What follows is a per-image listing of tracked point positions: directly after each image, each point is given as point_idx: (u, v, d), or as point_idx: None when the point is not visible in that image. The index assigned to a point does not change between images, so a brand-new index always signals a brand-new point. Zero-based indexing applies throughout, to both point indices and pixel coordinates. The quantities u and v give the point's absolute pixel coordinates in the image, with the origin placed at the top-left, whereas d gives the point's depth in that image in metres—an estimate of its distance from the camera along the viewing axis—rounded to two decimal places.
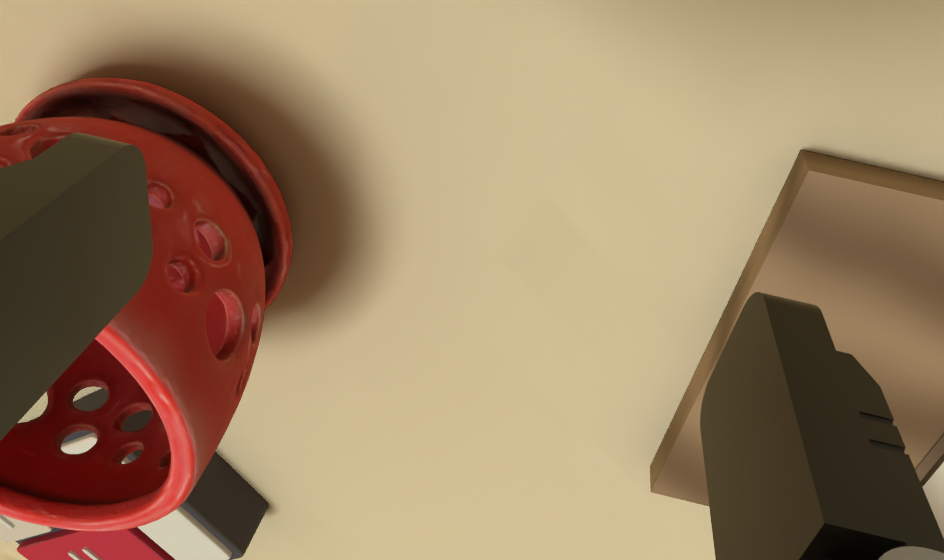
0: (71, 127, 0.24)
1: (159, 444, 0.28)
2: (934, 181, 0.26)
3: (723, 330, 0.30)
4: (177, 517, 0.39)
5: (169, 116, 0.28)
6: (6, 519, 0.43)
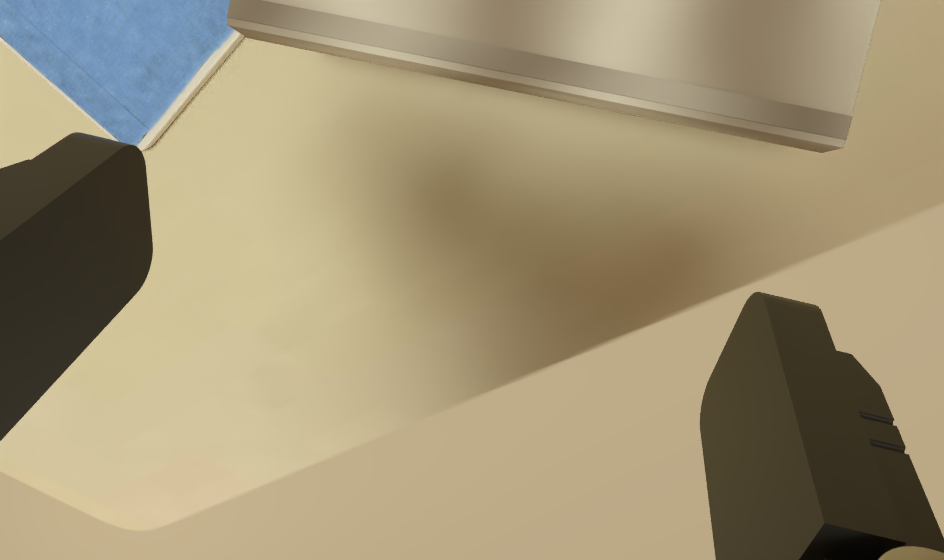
0: None
1: None
2: None
3: None
4: None
5: None
6: None
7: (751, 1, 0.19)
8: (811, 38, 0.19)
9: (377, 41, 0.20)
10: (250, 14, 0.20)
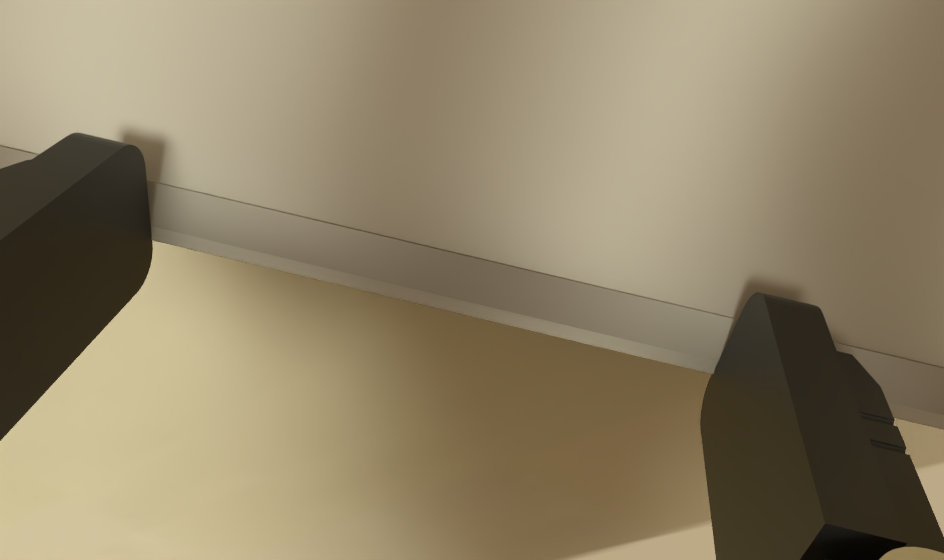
0: None
1: None
2: None
3: None
4: None
5: None
6: None
7: (891, 167, 0.10)
8: None
9: (154, 216, 0.10)
10: None
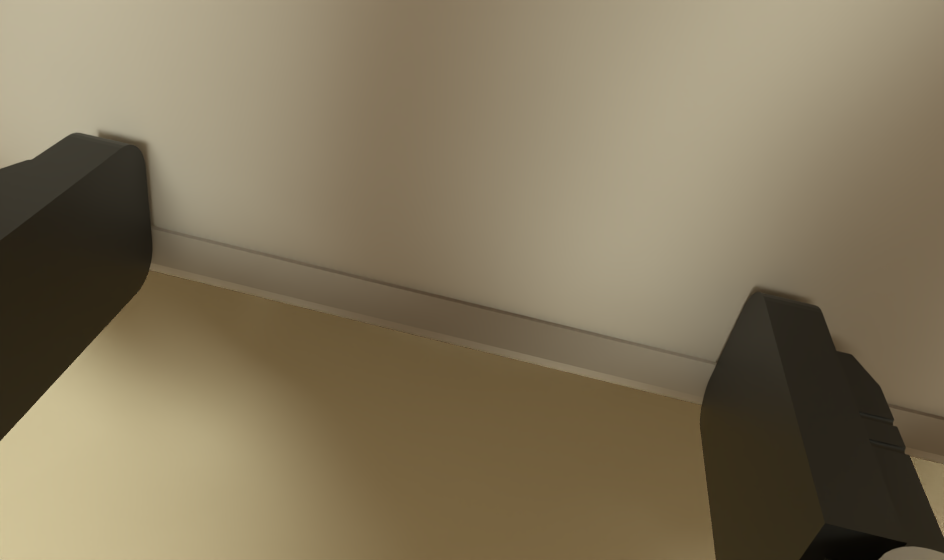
0: None
1: None
2: None
3: None
4: None
5: None
6: None
7: (908, 244, 0.09)
8: None
9: (157, 256, 0.11)
10: None
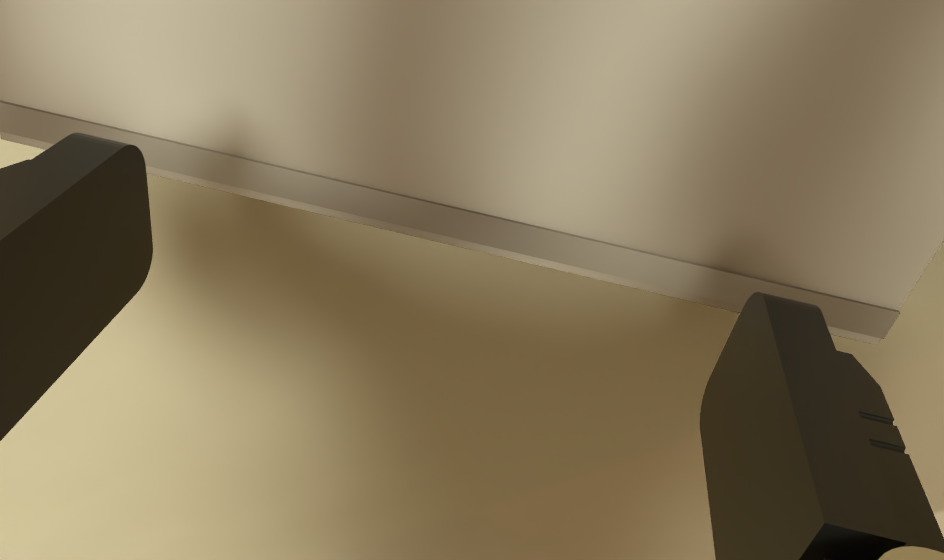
0: None
1: None
2: None
3: None
4: None
5: None
6: None
7: (778, 150, 0.12)
8: (864, 207, 0.12)
9: (215, 174, 0.14)
10: (29, 127, 0.14)
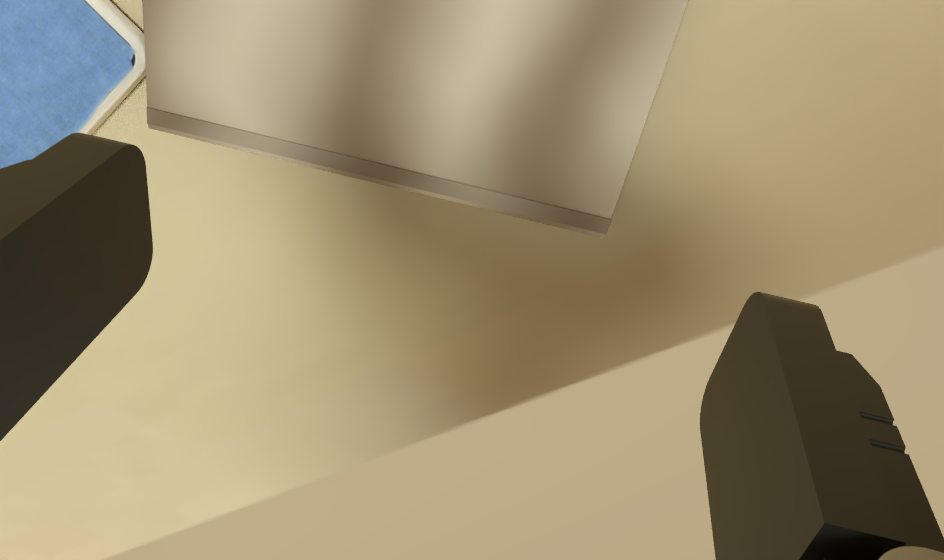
0: None
1: None
2: None
3: None
4: None
5: None
6: None
7: (541, 137, 0.25)
8: (585, 165, 0.25)
9: (263, 147, 0.27)
10: (165, 121, 0.27)
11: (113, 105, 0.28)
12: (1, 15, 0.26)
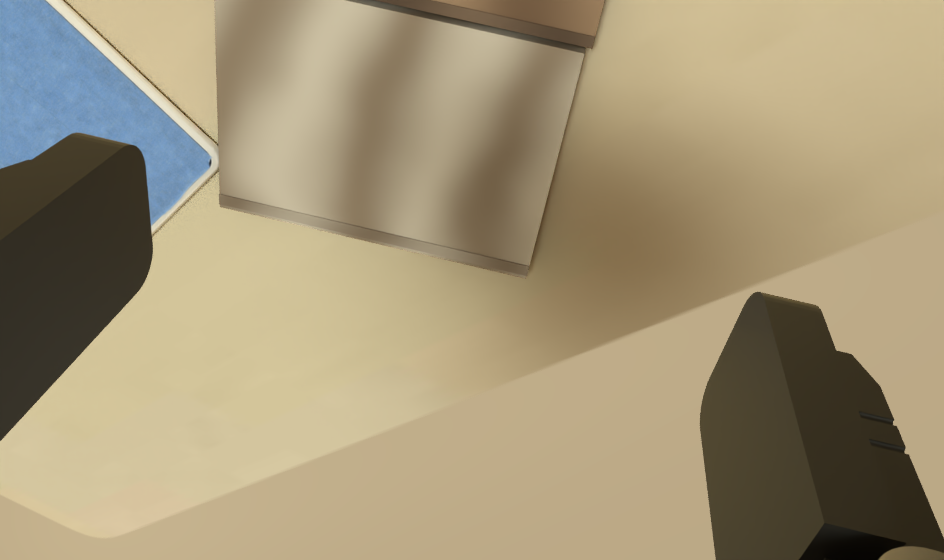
0: None
1: None
2: None
3: None
4: None
5: None
6: None
7: (478, 213, 0.38)
8: (508, 231, 0.38)
9: (296, 219, 0.40)
10: (231, 202, 0.40)
11: (196, 190, 0.41)
12: (124, 135, 0.39)
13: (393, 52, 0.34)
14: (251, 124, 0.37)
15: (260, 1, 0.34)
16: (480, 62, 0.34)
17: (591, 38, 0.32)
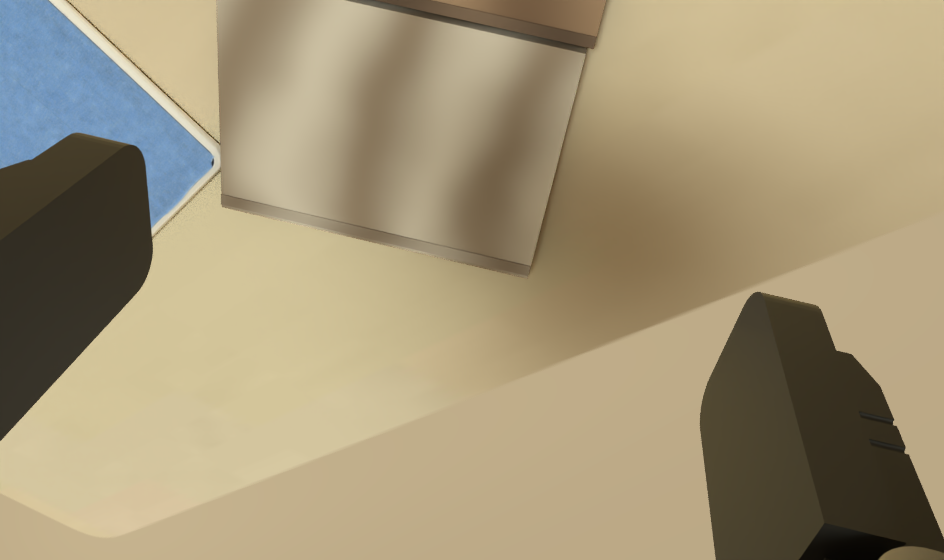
0: None
1: None
2: None
3: None
4: None
5: None
6: None
7: (479, 213, 0.38)
8: (510, 231, 0.38)
9: (297, 219, 0.40)
10: (232, 203, 0.40)
11: (198, 190, 0.41)
12: (127, 134, 0.40)
13: (395, 53, 0.34)
14: (252, 124, 0.37)
15: (262, 1, 0.34)
16: (481, 62, 0.34)
17: (592, 38, 0.32)
